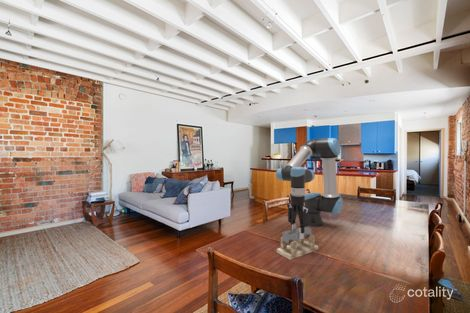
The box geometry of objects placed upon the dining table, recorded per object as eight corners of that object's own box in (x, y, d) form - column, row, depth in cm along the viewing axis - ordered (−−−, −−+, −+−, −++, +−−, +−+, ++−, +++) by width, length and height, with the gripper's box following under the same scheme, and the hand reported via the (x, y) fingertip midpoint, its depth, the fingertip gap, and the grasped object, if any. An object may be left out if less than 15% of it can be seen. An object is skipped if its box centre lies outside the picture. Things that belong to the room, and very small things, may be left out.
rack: (304, 243, 134) (304, 230, 134) (318, 249, 126) (318, 235, 126) (276, 252, 123) (276, 238, 122) (290, 259, 114) (290, 244, 114)
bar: (304, 233, 130) (305, 226, 130) (311, 236, 127) (311, 228, 127) (282, 240, 121) (282, 232, 121) (288, 243, 117) (288, 234, 117)
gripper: (281, 193, 129) (281, 233, 129) (305, 198, 114) (305, 244, 114) (290, 192, 133) (290, 231, 133) (315, 197, 118) (315, 241, 118)
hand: (297, 237), depth 124 cm, fingers closed on bar, 4 cm apart
